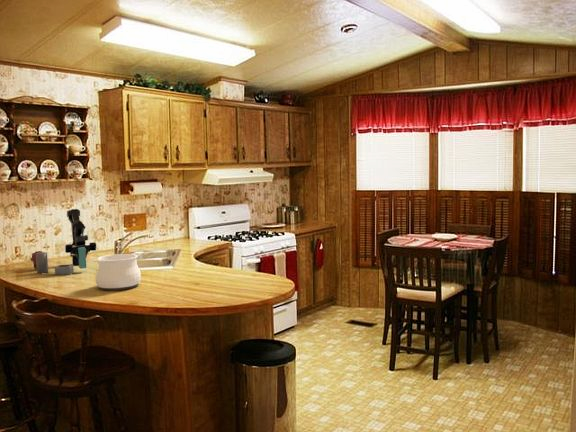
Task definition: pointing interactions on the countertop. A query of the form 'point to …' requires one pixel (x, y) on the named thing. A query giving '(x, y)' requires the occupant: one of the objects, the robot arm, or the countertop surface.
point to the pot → (118, 272)
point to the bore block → (64, 269)
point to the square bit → (82, 257)
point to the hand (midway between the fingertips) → (82, 257)
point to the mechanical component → (35, 259)
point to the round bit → (42, 262)
